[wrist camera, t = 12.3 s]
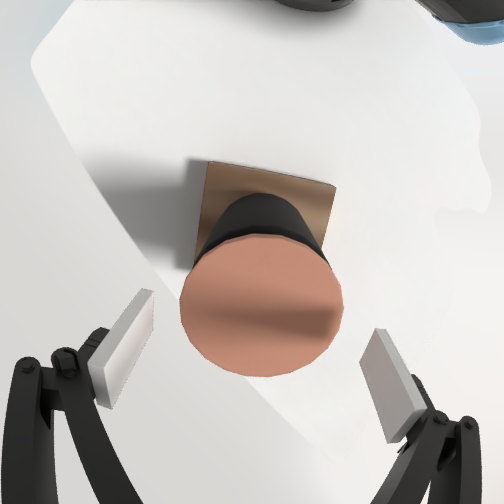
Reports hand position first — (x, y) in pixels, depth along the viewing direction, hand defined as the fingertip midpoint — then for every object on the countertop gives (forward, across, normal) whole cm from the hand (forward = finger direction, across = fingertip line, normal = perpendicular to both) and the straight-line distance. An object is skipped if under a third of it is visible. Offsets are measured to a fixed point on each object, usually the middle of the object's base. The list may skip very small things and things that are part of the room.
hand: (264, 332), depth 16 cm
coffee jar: (+20, 0, -1) cm, 20 cm away
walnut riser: (+23, 0, -1) cm, 23 cm away
